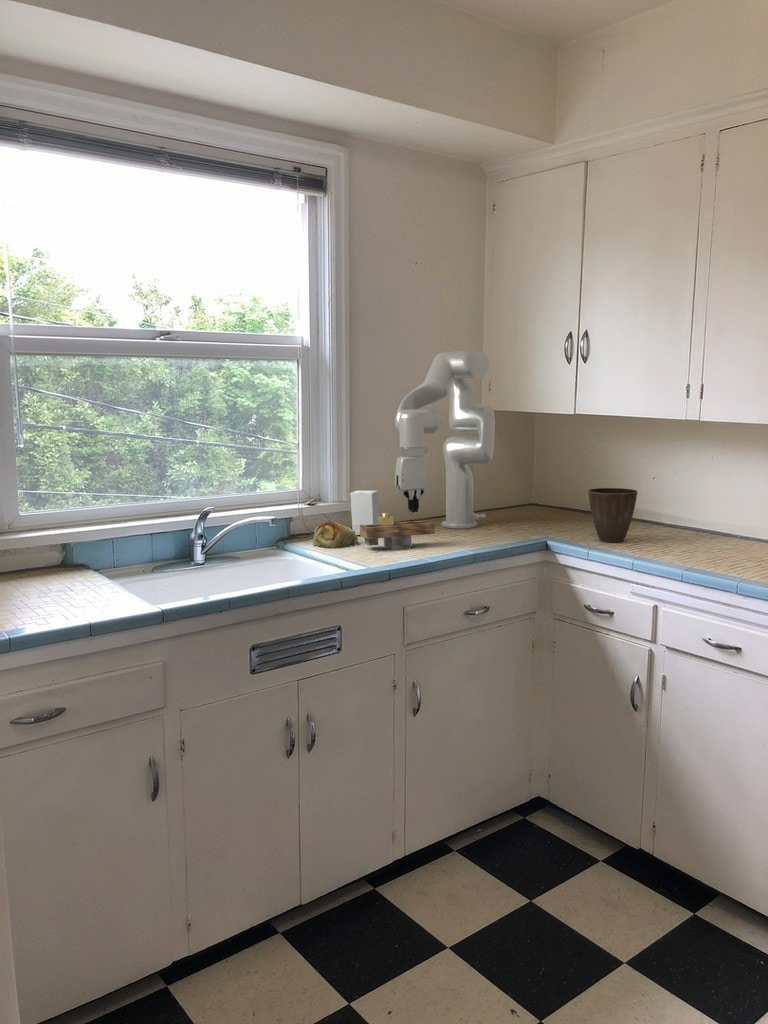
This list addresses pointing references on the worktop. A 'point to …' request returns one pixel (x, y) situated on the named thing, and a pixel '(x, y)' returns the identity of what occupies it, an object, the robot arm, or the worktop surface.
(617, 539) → the plant pot
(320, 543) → the pastry
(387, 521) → the perfume bottle
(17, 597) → the worktop surface
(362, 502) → the skincare box
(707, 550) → the worktop surface
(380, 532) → the beam
